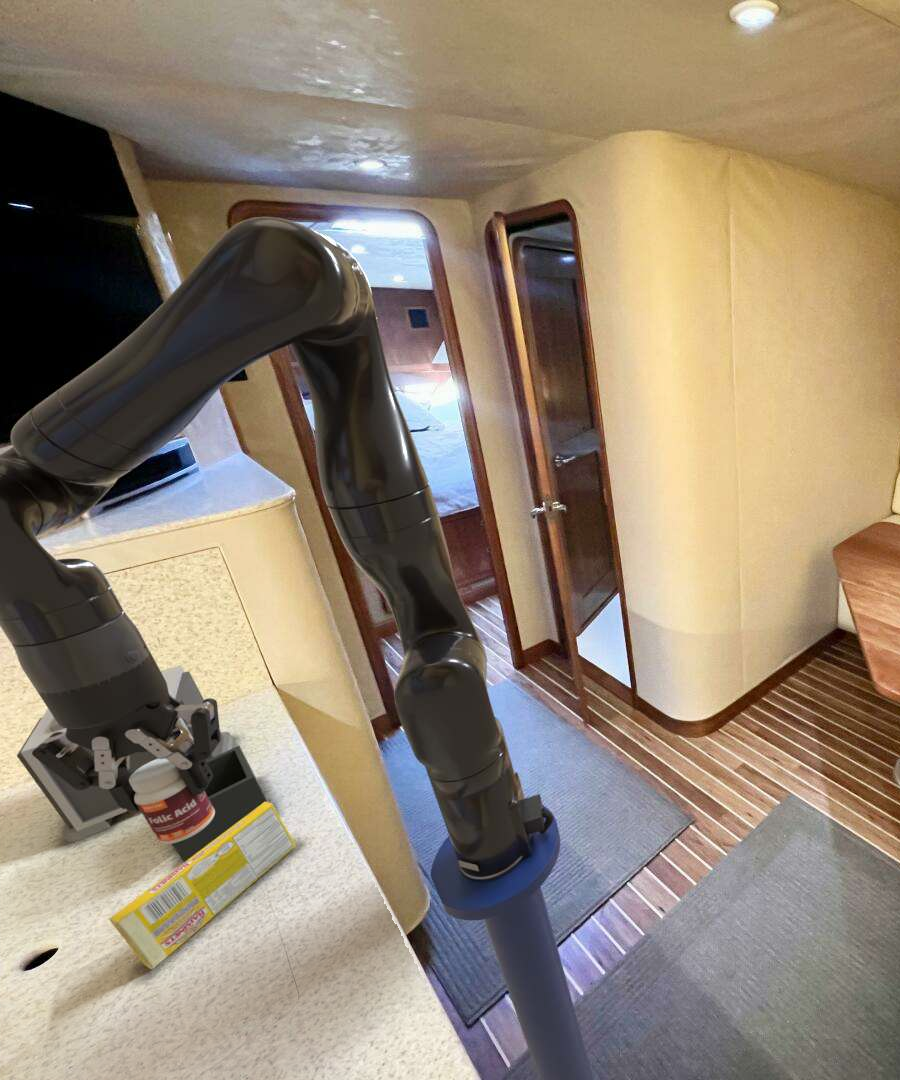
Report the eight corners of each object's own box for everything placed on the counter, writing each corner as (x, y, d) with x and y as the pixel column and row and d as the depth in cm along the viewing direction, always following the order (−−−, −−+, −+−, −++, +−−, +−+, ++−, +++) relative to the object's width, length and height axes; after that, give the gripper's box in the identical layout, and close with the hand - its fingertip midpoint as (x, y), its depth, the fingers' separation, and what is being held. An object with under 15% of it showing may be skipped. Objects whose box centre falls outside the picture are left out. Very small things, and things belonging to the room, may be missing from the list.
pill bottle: (158, 854, 56) (120, 794, 53) (160, 826, 59) (124, 769, 56) (217, 825, 59) (185, 768, 56) (216, 801, 62) (185, 745, 59)
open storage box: (273, 814, 80) (254, 776, 77) (184, 864, 73) (159, 824, 70) (257, 781, 86) (239, 745, 84) (174, 824, 80) (151, 786, 77)
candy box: (287, 843, 75) (265, 799, 72) (297, 847, 75) (275, 803, 72) (141, 964, 61) (106, 917, 58) (152, 971, 61) (117, 923, 57)
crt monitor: (233, 736, 97) (189, 651, 90) (229, 778, 87) (180, 687, 81) (87, 791, 87) (26, 700, 80) (65, 846, 77) (-8, 748, 70)
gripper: (204, 630, 57) (264, 753, 63) (25, 663, 52) (109, 793, 59) (165, 668, 50) (236, 801, 57) (-44, 710, 46) (59, 850, 52)
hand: (171, 796), depth 58 cm, fingers closed on pill bottle, 4 cm apart
